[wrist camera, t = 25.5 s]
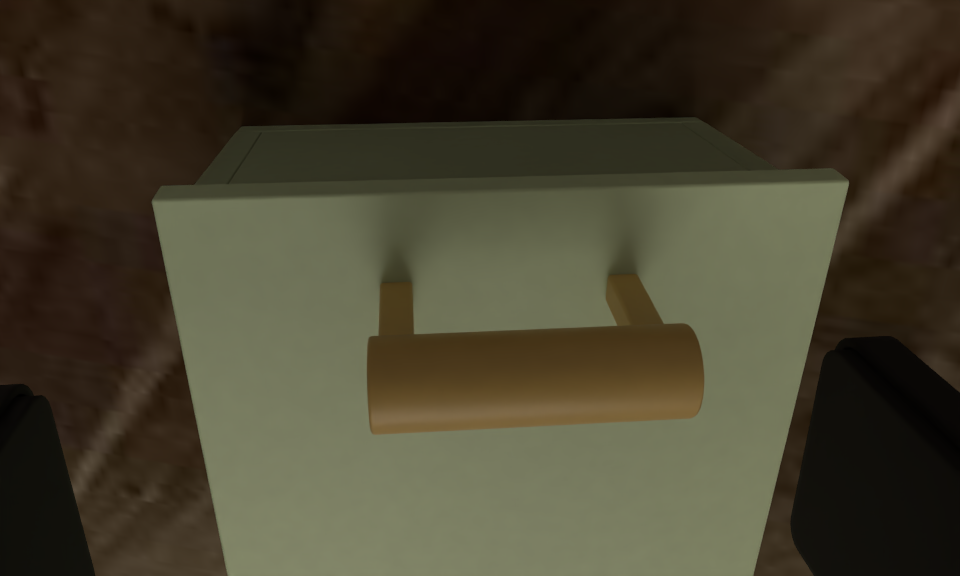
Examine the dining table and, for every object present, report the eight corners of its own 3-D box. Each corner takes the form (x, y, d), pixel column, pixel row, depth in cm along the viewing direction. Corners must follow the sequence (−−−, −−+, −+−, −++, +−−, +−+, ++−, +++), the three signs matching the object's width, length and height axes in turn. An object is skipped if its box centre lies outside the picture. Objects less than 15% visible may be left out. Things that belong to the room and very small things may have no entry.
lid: (160, 184, 17) (80, 306, 13) (833, 167, 18) (970, 273, 14) (257, 685, 25) (229, 864, 21) (721, 650, 26) (786, 812, 22)
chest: (239, 125, 26) (184, 195, 19) (697, 116, 27) (796, 179, 20) (287, 526, 32) (258, 684, 25) (656, 504, 33) (720, 649, 26)
